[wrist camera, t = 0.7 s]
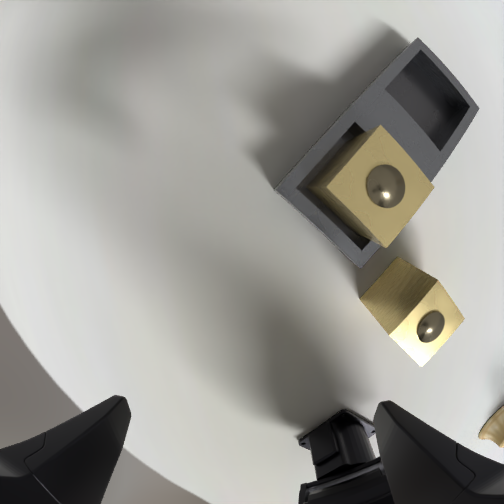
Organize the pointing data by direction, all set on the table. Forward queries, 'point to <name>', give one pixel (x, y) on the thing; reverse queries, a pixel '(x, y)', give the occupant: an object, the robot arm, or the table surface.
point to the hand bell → (494, 428)
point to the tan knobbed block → (413, 309)
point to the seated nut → (372, 186)
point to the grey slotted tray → (397, 125)
